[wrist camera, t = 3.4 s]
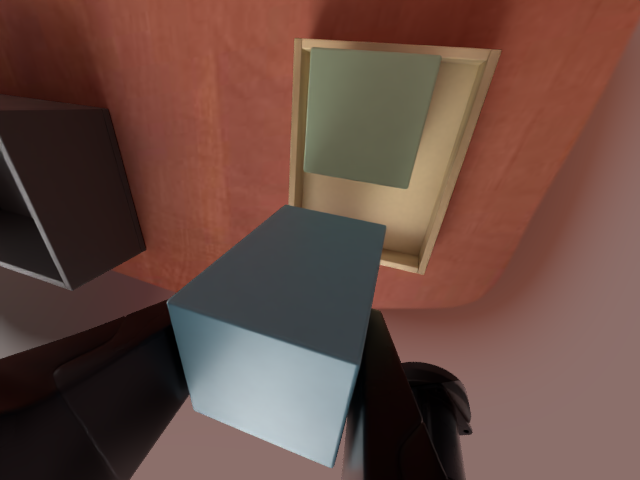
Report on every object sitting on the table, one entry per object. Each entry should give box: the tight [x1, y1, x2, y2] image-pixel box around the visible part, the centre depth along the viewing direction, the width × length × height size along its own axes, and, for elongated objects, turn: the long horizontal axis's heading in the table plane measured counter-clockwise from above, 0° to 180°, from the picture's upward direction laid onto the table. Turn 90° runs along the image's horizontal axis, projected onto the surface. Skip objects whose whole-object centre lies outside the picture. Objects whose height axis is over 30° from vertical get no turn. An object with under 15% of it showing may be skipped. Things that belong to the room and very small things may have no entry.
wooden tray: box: [289, 38, 502, 275], centre depth 15 cm, size 9×11×2 cm
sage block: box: [303, 47, 442, 189], centre depth 11 cm, size 4×4×6 cm
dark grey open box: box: [0, 94, 146, 290], centre depth 22 cm, size 19×12×6 cm, turn 84°
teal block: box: [167, 205, 387, 468], centre depth 8 cm, size 4×4×6 cm
